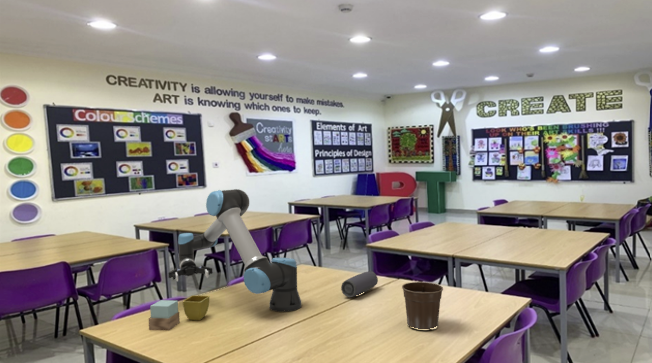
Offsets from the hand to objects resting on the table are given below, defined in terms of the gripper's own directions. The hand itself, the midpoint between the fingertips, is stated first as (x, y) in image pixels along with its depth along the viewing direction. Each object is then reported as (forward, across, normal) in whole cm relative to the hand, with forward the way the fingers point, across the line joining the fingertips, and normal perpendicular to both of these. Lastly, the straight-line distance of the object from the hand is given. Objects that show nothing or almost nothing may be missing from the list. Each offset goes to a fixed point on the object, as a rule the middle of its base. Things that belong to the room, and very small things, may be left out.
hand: (192, 276), depth 206 cm
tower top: (+14, +13, -12) cm, 22 cm away
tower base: (+14, +13, -17) cm, 26 cm away
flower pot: (+10, 0, -16) cm, 20 cm away
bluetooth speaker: (+10, -82, -16) cm, 84 cm away
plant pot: (+63, -83, -15) cm, 105 cm away
